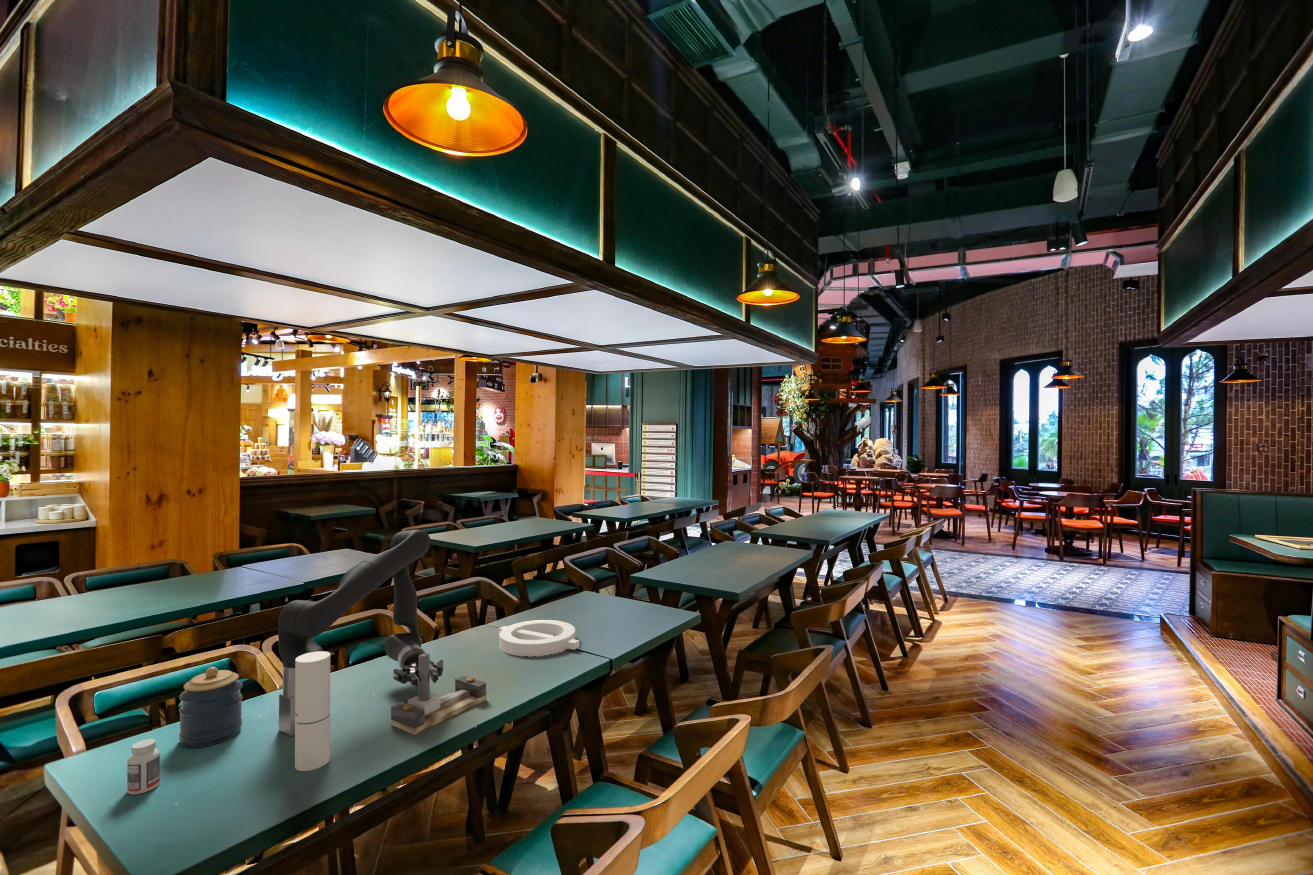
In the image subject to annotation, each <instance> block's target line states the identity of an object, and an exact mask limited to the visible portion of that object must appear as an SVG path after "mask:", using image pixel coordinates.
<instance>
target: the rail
mask: <svg viewBox="0 0 1313 875" xmlns="http://www.w3.org/2000/svg"><path fill="white" fill-rule="evenodd" d="M439 698H440V708H439V709H437V710H434V711H432V712H430V713H428V714H426V715H425V711H424V710H421V709H418V708H416V707H413V705H412V704H408V703H405V702H403V701H400V702H397V703H396V704H393V705H391V706H390V726H392V727H395V728H398V729H400V730H403V731H405V732H407V733H410V734H412V735H417V734H419V733H421V732H423V731H425V730H427V729H429V728H431V727H430V726H432V727H433V725H434V726H436V725H437V723H438V724H439V722H440V723H441V721H442V722H444V721H445V720H448V719H450V718H452V717H454V716H456V715H458V714H460V713H462V712H465V711H466V710H468V709H471V708H472V707H475V706H477V705H479V704H481V703H483V702H485V701H487V682H485V681H481V680H478V679H476V678H475V677H472V676H466V675H461V676H458V677H457V678H455V680H454V691H452V692H449V693H447V694H445V695H442V696H440V697H439ZM453 715H454V716H453ZM451 716H452V717H451ZM435 724H436V725H435ZM428 727H429V728H428ZM426 728H427V729H426ZM424 729H425V730H424ZM422 730H423V731H422ZM420 731H421V732H420Z"/></svg>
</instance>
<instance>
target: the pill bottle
mask: <svg viewBox="0 0 1313 875" xmlns="http://www.w3.org/2000/svg"><path fill="white" fill-rule="evenodd" d="M160 751H161V750H159V748H158V749H157V741H156V739H154V738H149V739H147V738H146V739H143V740H140V741H138V742H135V743H134V744H132V745H131V755H130V756H129V757H128V758H127V761H126V762H127V763H126V764H127V766H126V768H127V771H126V772H127V773H126V775H127V777H126V778H127V779H126V781H127V784H126V785H127V788H126V789H127V794H129V795H140V794H144V793H146V792H147V793H148V792H150V791H152V790H153V789H155V788H157V787H158V786H159V785H160V782H161V774H160V773H161V752H160Z"/></svg>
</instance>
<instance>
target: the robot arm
mask: <svg viewBox="0 0 1313 875" xmlns="http://www.w3.org/2000/svg"><path fill="white" fill-rule="evenodd" d="M430 546H431V537H430V534H428V532H426V531H425V530H422V529H410V530H404V531H399V532H397V533H395V534H394V535H393V536H392V538H391V541H390V549H387V550H385V551H382V552H380V553H377V554H374V555H372V556H370V557H368V558H365V559H364V560H362V561H360V562H358V563H357V564H356V565H354V566H352V567H351V568H350V569H349V570H347V571H346V572H345V573H344V575H343V576H342V578H341V580H340V582H339V585H338V588H336V590H334V591H332V592H331V593H330V594H329V595H327V596H326V597H324V598H322V599H320V600H317V601H312V600H304V599H303V600H302V599H301V600H300V599H297V600H291V601H290V602H288V603H287V604H285V606H284V607H283V608H282V609H281V610H280V614H279V615H278V616H279V617H278V620H277V621H278V623H277V633H278V634H277V635H278V637H277V638H278V652H279V655H280V657H281V659H282V692H281V693H280V694H279V695H278V731H280V732H281V733H283V734H286V735H287V736H288V737H292V736H295V659H296V658H297V657H298V656H301V655H303V654H306V653H311V652H318V651H324V650H323V648H322V646H320V645H319V644H318V643H317V642H316V641H314V638H317V637H318V636H320V635H322V634H323V633H324V632H325V631H327V630H328V629H329V628H330V627H331V626H333V625H334V623H335V622H336V621H338V620H339V619H340V618H341V617H342V616H343V615H345V613H346V612H348V611H349V610H350V609H351V608H352V607H354V606H355V605H356V604H358V603H359V602H360V601H361V600H363V599H364V598H365V597H366V596H368V595H369V594H371V593H372V592H373V591H375V590H377V588H379V587H381V586H382V584H384V583H385V582H386V581H388V580H389V579H391V578H392V579H393V594H394V595H393V597H394V599H393V614H392V623H393V624H394V625H395V626H402V627H406V628H407V629H408V632H399V633H398V632H397V633H393V634H390V635H389V636H388V637H387V638H386V640H385V642H384V651H385V654H386V656H387V657H388V658H389V659H391V660H392V661H396V662H398V666H399V668H400V669H399V668H394V669H393V674H392V675H393V676H392V677H393V680H394V681H397V682H398V683H400V684H403V685H406V684H407V683H408V682H409V684H410V685H411V686H414V688H417V687H419V655H420V654H424V653H426V651H425V649H424V648H423V647H422V638H421V634H420V630H419V626H418V618H417V617H418V594H417V590H416V588H415V585H414V583H413V581H412V578H411V576H410V570H409V565H410V564H412V563H413V562H415V561H417V560H419V559H421V558H422V557H424V556H425V555H426V554H427V552H428V551H429V549H430ZM443 672H444V659H440V660H438V661H437V662H436V663H435V662H434V661H432V660H430V680H431V682H432V683H434V684H435V683H437V682H438V681H439V677H442V676H443Z"/></svg>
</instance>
